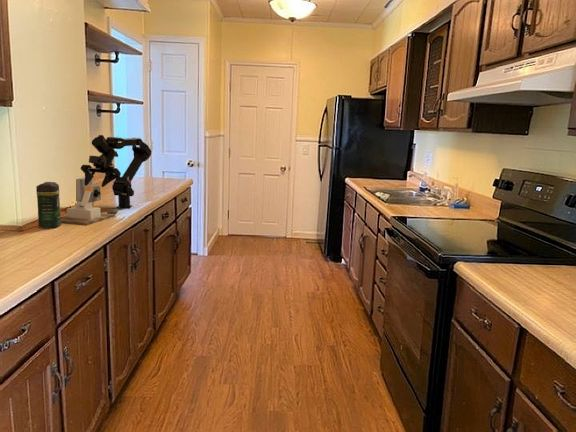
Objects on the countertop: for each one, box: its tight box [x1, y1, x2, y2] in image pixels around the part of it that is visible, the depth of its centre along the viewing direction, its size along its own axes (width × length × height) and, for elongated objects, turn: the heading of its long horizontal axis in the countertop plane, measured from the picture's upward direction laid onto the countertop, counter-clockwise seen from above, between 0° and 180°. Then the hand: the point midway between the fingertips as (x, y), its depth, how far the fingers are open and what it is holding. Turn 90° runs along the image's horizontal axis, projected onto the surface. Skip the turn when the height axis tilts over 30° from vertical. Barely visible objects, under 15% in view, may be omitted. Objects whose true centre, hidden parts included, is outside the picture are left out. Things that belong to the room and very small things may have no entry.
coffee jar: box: [35, 181, 62, 229], centre depth 186 cm, size 10×8×19 cm
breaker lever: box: [80, 186, 94, 208], centre depth 204 cm, size 2×3×10 cm, turn 77°
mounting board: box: [61, 212, 116, 226], centre depth 204 cm, size 20×18×1 cm
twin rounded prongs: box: [106, 208, 119, 215], centre depth 217 cm, size 7×12×2 cm, turn 77°
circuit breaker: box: [76, 176, 102, 207], centre depth 229 cm, size 8×14×15 cm, turn 78°
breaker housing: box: [66, 202, 102, 219], centre depth 203 cm, size 7×12×6 cm, turn 77°
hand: (93, 185), depth 210 cm, fingers open, 9 cm apart
